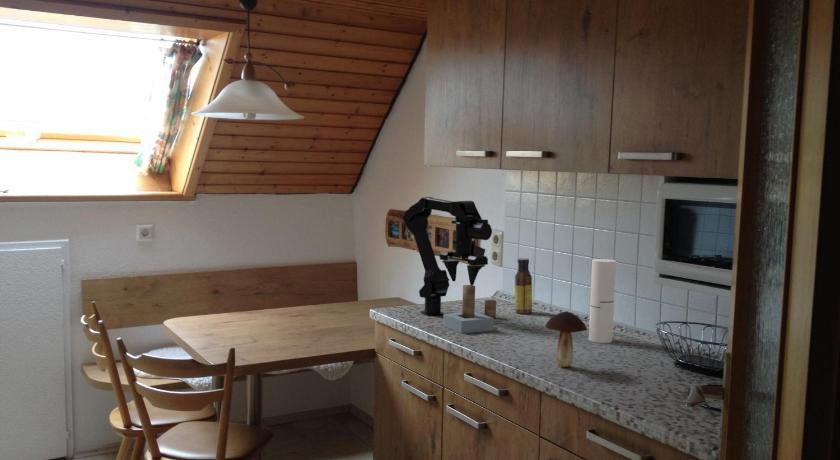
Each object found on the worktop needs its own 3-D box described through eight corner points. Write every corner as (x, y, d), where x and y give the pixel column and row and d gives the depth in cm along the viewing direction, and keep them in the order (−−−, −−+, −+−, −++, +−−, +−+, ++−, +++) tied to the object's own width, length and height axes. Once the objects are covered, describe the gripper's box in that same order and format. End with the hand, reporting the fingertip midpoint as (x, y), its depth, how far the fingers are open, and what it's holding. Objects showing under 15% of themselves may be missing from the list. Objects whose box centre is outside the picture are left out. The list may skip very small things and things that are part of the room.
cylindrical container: (612, 343, 232) (616, 262, 230) (588, 342, 233) (592, 261, 231) (611, 338, 239) (615, 259, 237) (588, 336, 240) (591, 258, 238)
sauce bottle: (531, 311, 280) (533, 257, 278) (532, 314, 274) (534, 260, 272) (513, 310, 280) (515, 257, 279) (514, 314, 274) (515, 259, 272)
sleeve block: (443, 325, 252) (443, 313, 251) (474, 323, 257) (474, 311, 257) (461, 333, 241) (461, 321, 241) (493, 330, 247) (493, 318, 246)
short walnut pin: (482, 316, 268) (482, 300, 267) (491, 316, 270) (492, 299, 269) (488, 319, 264) (488, 302, 264) (497, 318, 266) (498, 301, 266)
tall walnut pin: (459, 327, 250) (460, 285, 249) (470, 326, 252) (471, 284, 251) (465, 329, 247) (466, 287, 245) (476, 328, 248) (477, 286, 247)
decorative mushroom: (567, 360, 211) (569, 306, 210) (594, 369, 202) (596, 314, 200) (535, 364, 206) (537, 309, 205) (561, 374, 196) (563, 317, 195)
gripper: (500, 239, 256) (498, 284, 257) (463, 234, 270) (462, 277, 272) (475, 240, 249) (474, 287, 250) (439, 235, 263) (438, 280, 265)
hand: (462, 283), depth 260 cm, fingers open, 9 cm apart
